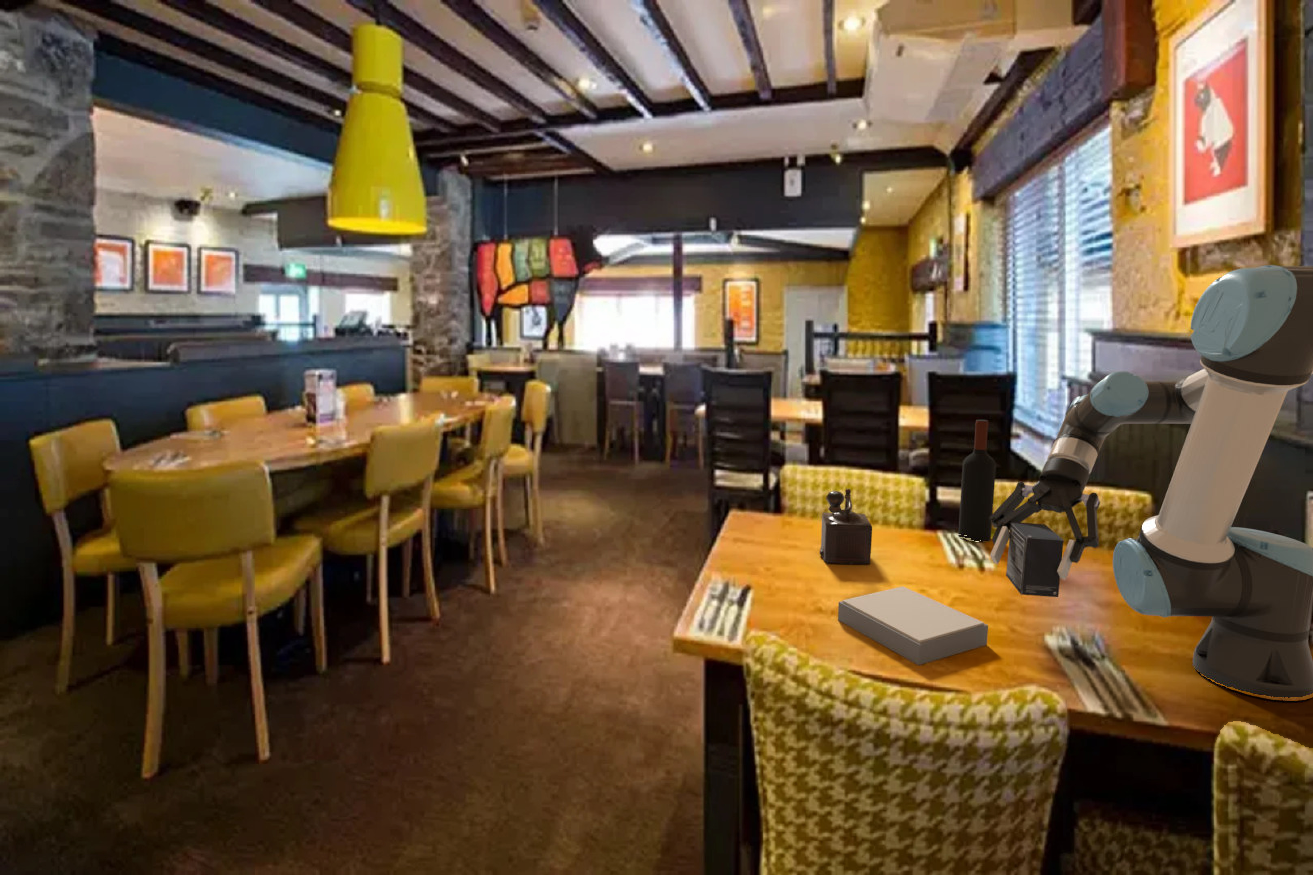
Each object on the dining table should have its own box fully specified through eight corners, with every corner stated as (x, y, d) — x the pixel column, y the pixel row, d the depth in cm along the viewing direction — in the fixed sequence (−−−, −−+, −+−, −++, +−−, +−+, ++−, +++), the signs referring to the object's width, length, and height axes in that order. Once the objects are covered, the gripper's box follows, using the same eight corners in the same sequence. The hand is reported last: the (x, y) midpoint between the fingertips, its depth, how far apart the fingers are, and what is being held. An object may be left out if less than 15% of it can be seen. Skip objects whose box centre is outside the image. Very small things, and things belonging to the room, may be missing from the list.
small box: (1061, 598, 126) (1066, 539, 124) (1020, 596, 127) (1024, 537, 125) (1042, 577, 136) (1046, 522, 134) (1004, 575, 137) (1008, 521, 135)
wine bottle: (956, 539, 184) (963, 421, 179) (959, 531, 191) (967, 417, 186) (989, 543, 181) (998, 423, 176) (991, 535, 187) (999, 419, 182)
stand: (986, 644, 127) (988, 623, 127) (918, 665, 121) (919, 642, 120) (901, 604, 145) (902, 584, 144) (838, 620, 138) (838, 599, 138)
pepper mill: (817, 549, 178) (819, 477, 175) (863, 550, 177) (866, 477, 174) (824, 572, 163) (826, 493, 160) (875, 573, 162) (879, 494, 159)
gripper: (1142, 489, 130) (1104, 596, 122) (1009, 470, 147) (968, 562, 140) (1135, 464, 126) (1095, 573, 118) (999, 448, 143) (956, 541, 135)
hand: (1026, 567), depth 129 cm, fingers closed on small box, 11 cm apart
